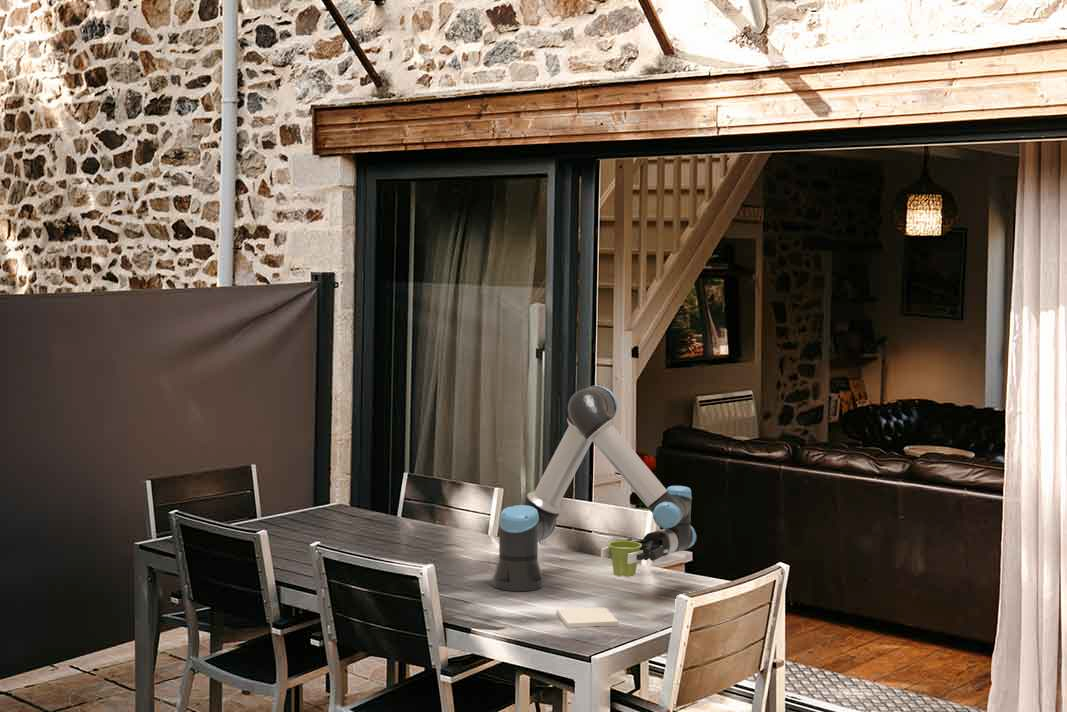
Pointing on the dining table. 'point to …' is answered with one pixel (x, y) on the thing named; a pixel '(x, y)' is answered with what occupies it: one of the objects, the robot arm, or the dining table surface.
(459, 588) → the dining table surface
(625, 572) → the plant pot
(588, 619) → the tile
